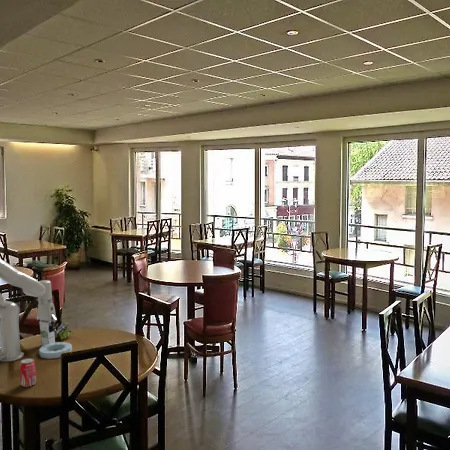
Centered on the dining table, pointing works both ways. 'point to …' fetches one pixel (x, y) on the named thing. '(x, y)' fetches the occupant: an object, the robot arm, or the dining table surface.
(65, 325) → the passion flower
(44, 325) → the syrup box
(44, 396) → the dining table surface
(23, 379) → the soda can
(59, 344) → the pale blue ring
